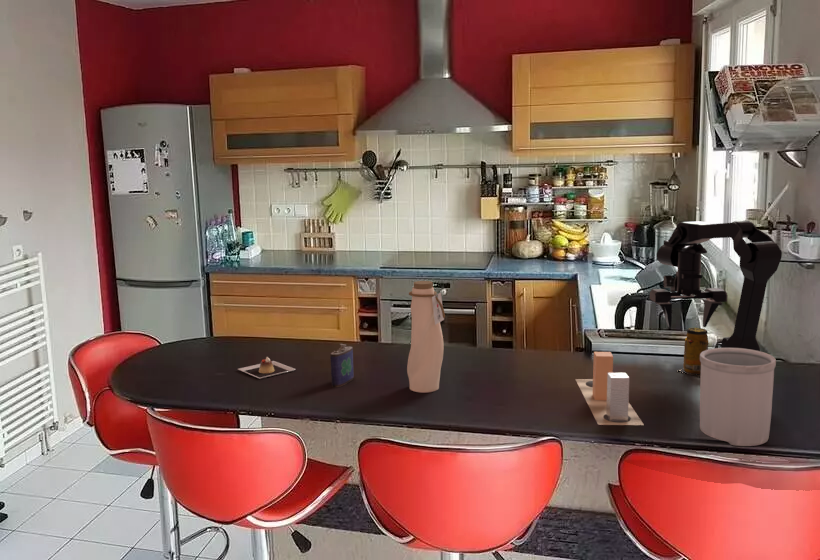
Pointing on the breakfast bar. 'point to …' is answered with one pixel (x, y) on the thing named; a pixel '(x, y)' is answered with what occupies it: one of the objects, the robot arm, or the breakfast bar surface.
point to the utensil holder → (736, 395)
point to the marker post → (601, 374)
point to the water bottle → (425, 338)
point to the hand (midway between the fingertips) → (686, 327)
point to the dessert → (267, 368)
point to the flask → (342, 366)
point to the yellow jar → (694, 350)
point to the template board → (604, 406)
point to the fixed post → (617, 396)
